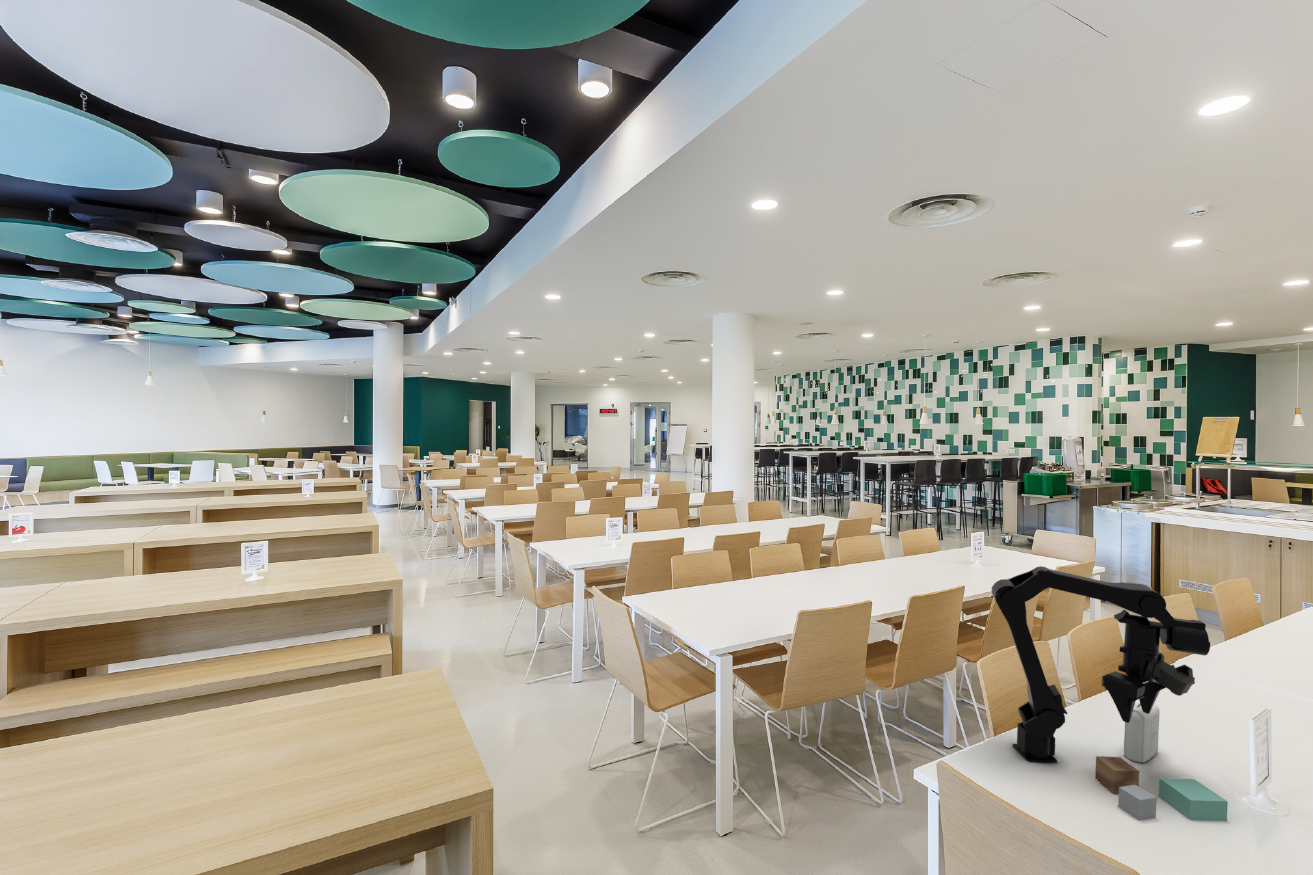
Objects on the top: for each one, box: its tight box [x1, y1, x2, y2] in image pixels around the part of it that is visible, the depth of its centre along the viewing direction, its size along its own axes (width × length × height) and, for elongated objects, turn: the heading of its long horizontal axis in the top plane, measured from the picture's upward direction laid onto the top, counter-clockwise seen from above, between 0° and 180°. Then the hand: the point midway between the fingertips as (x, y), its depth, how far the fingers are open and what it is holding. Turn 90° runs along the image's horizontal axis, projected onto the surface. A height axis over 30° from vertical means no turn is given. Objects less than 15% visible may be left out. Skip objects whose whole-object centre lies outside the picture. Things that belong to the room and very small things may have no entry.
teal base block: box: [1158, 777, 1229, 822], centre depth 114 cm, size 7×7×4 cm
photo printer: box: [1123, 699, 1161, 764], centre depth 133 cm, size 10×4×12 cm, turn 123°
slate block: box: [1117, 785, 1157, 821], centre depth 113 cm, size 4×4×4 cm
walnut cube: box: [1094, 755, 1140, 795], centre depth 120 cm, size 5×5×5 cm
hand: (1136, 717), depth 124 cm, fingers open, 9 cm apart
